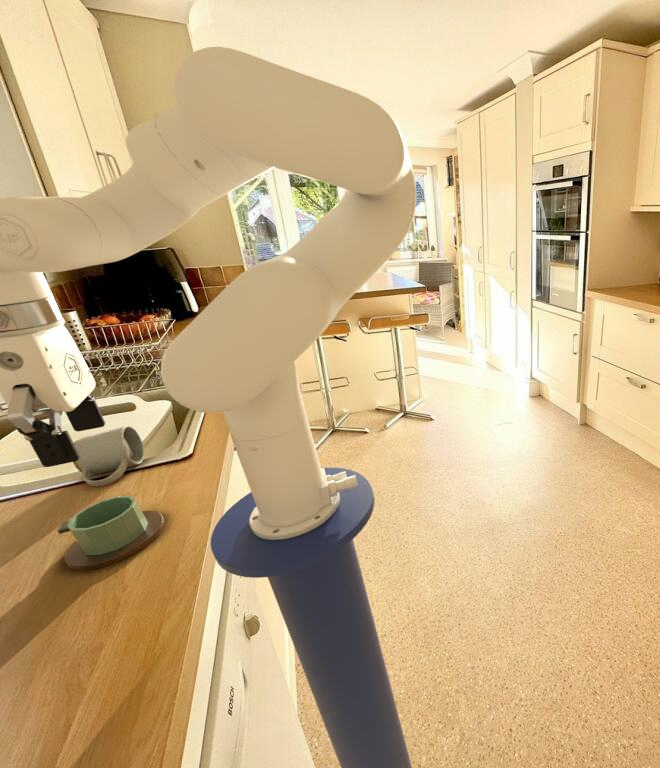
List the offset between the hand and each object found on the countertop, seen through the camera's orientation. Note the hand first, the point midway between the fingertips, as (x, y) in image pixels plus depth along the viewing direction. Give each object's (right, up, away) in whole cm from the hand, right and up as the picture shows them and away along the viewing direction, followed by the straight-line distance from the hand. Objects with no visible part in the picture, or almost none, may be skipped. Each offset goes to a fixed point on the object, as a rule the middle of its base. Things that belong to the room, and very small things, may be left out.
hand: (77, 444), depth 54 cm
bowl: (-1, -15, +7) cm, 16 cm away
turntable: (-1, -15, +7) cm, 17 cm away
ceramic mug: (-18, -9, +24) cm, 31 cm away
